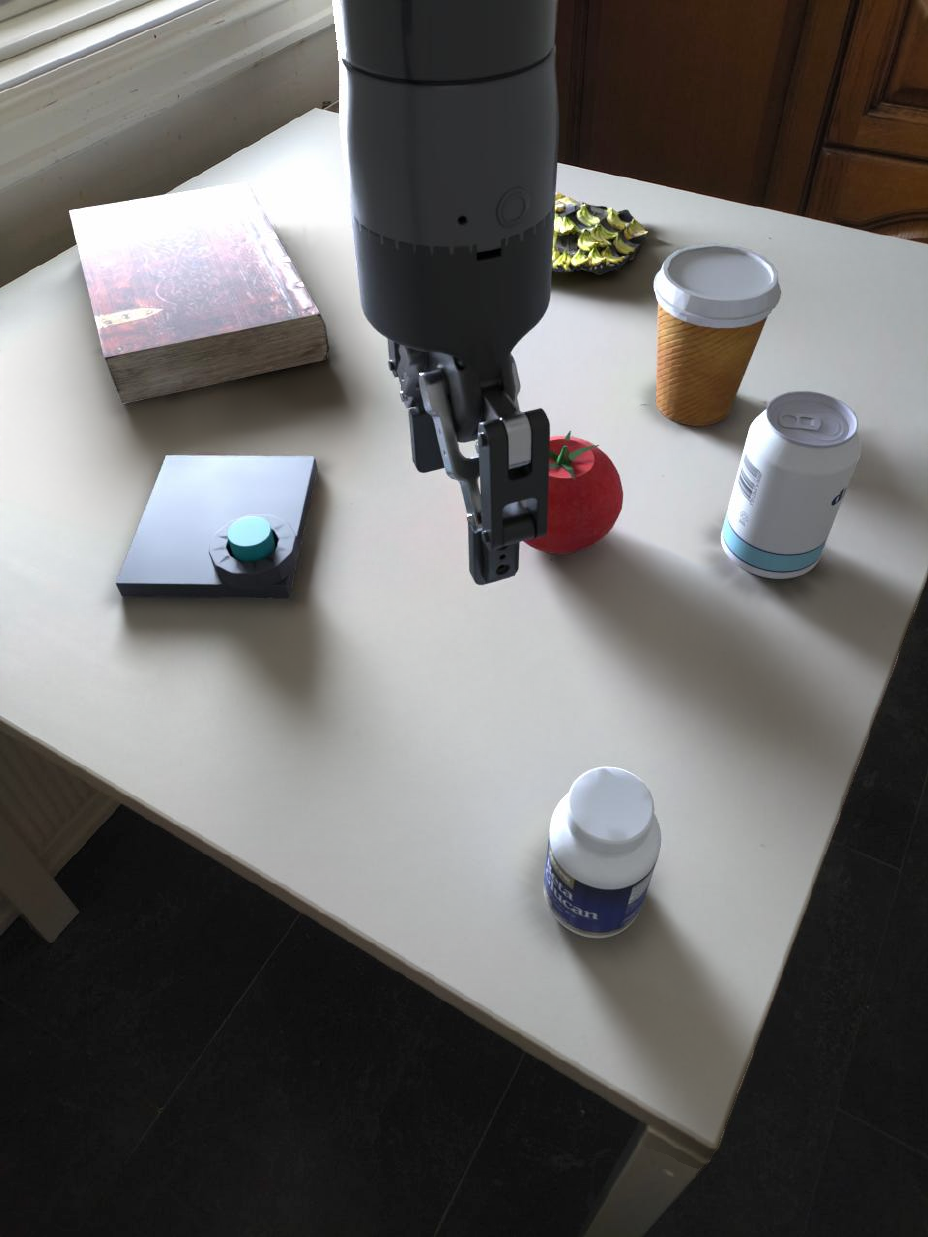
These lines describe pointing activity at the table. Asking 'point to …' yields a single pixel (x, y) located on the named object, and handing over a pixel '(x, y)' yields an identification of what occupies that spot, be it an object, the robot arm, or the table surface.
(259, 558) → the button
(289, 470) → the scale
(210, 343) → the hardback book
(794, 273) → the table surface
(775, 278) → the disposable coffee cup
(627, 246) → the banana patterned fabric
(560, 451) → the tomato
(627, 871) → the pill bottle
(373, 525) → the table surface
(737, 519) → the beverage can
